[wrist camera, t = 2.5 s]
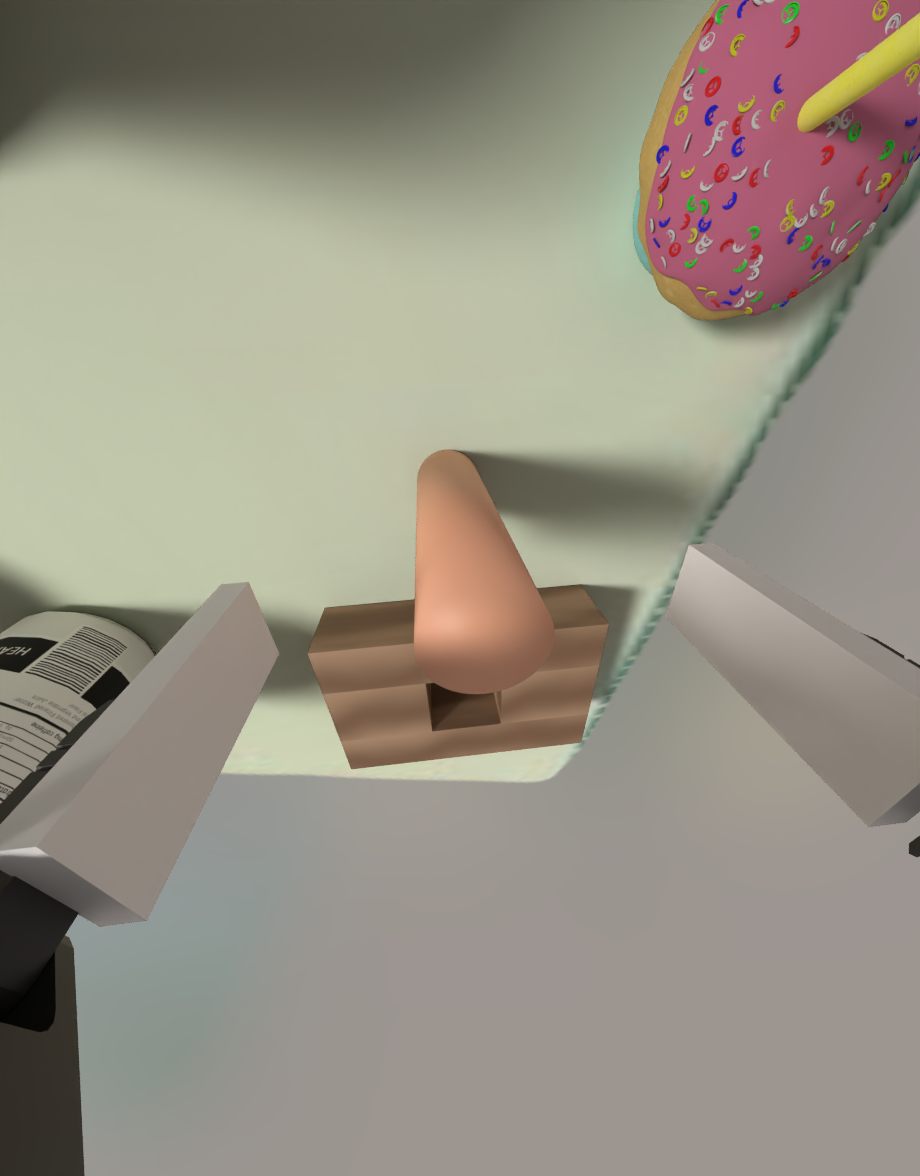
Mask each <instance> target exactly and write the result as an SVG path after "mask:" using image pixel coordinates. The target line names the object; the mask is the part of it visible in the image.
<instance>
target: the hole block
mask: <svg viewBox="0 0 920 1176" xmlns="http://www.w3.org/2000/svg"><path fill="white" fill-rule="evenodd" d="M537 590H538V592H539V594H540V596H541V598H542V600H543V602H544V604H545V606H546V608H547V610H548V612H549V614H550V616H551V618H552V621H553V624H554V630H555V639H554V644H553V647H552V650H551V653H550V654H549V656H548V658H547V660H546V661H545V662H544V664H543V665H542V666H541V667H540V668H539V669H538V670H537V671H536V672H535V673H534V674H533V675H532V676H530V677H529V678H527V679H526V680H525V681H523V682H521V683H519V684H517V685H515V686H513V687H511V688H508V689H505V690H502V691H498V692H493V693H487V694H465V693H459V692H454V691H451V690H448V689H445V688H443V687H441V686H439V685H437V684H436V683H434V682H433V681H431V680H430V679H429V678H428V677H427V676H426V675H425V674H424V673H423V672H422V670H421V669H420V667H419V666H418V663H417V661H416V658H415V654H414V611H415V600H407V601H396V602H386V603H375V604H364V605H353V606H342V607H331V608H325V609H324V611H323V614H322V617H321V619H320V622H319V624H318V627H317V630H316V632H315V635H314V638H313V640H312V643H311V645H310V648H309V651H308V653H307V654H308V657H309V659H310V662H311V665H312V667H313V670H314V672H315V675H316V678H317V680H318V683H319V686H320V688H321V691H322V693H323V696H324V699H325V701H326V704H327V707H328V709H329V712H330V714H331V717H332V720H333V722H334V725H335V728H336V730H337V733H338V735H339V738H340V741H341V743H342V746H343V749H344V751H345V754H346V756H347V759H348V762H349V764H350V767H351V769H357V768H366V767H374V766H383V765H392V764H400V763H409V762H418V761H426V760H435V759H443V758H452V757H461V756H469V755H478V754H486V753H495V752H504V751H512V750H521V749H529V748H538V747H547V746H555V745H564V744H573V743H581V741H582V737H583V733H584V729H585V724H586V720H587V716H588V712H589V707H590V703H591V699H592V695H593V690H594V686H595V682H596V677H597V673H598V669H599V665H600V660H601V656H602V652H603V648H604V643H605V639H606V635H607V631H608V626H609V623H608V622H607V621H606V619H605V618H604V616H603V615H602V614H601V612H600V611H599V609H598V608H597V606H596V605H595V604H594V602H593V601H592V599H591V598H590V597H589V595H588V594H587V592H586V591H585V590H584V588H583V587H582V585H571V586H560V587H550V588H539V589H537ZM431 683H432V684H431Z"/></svg>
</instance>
